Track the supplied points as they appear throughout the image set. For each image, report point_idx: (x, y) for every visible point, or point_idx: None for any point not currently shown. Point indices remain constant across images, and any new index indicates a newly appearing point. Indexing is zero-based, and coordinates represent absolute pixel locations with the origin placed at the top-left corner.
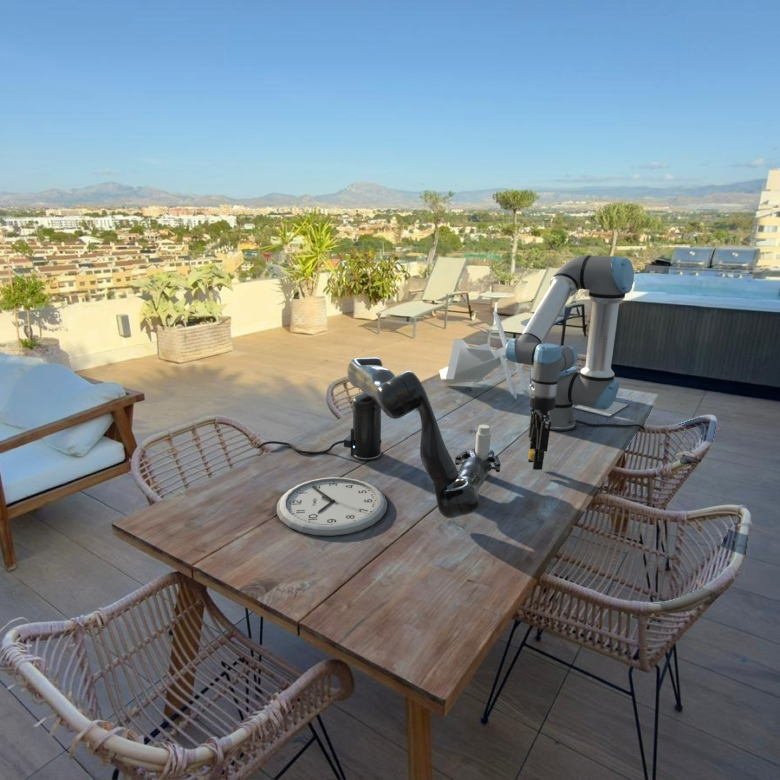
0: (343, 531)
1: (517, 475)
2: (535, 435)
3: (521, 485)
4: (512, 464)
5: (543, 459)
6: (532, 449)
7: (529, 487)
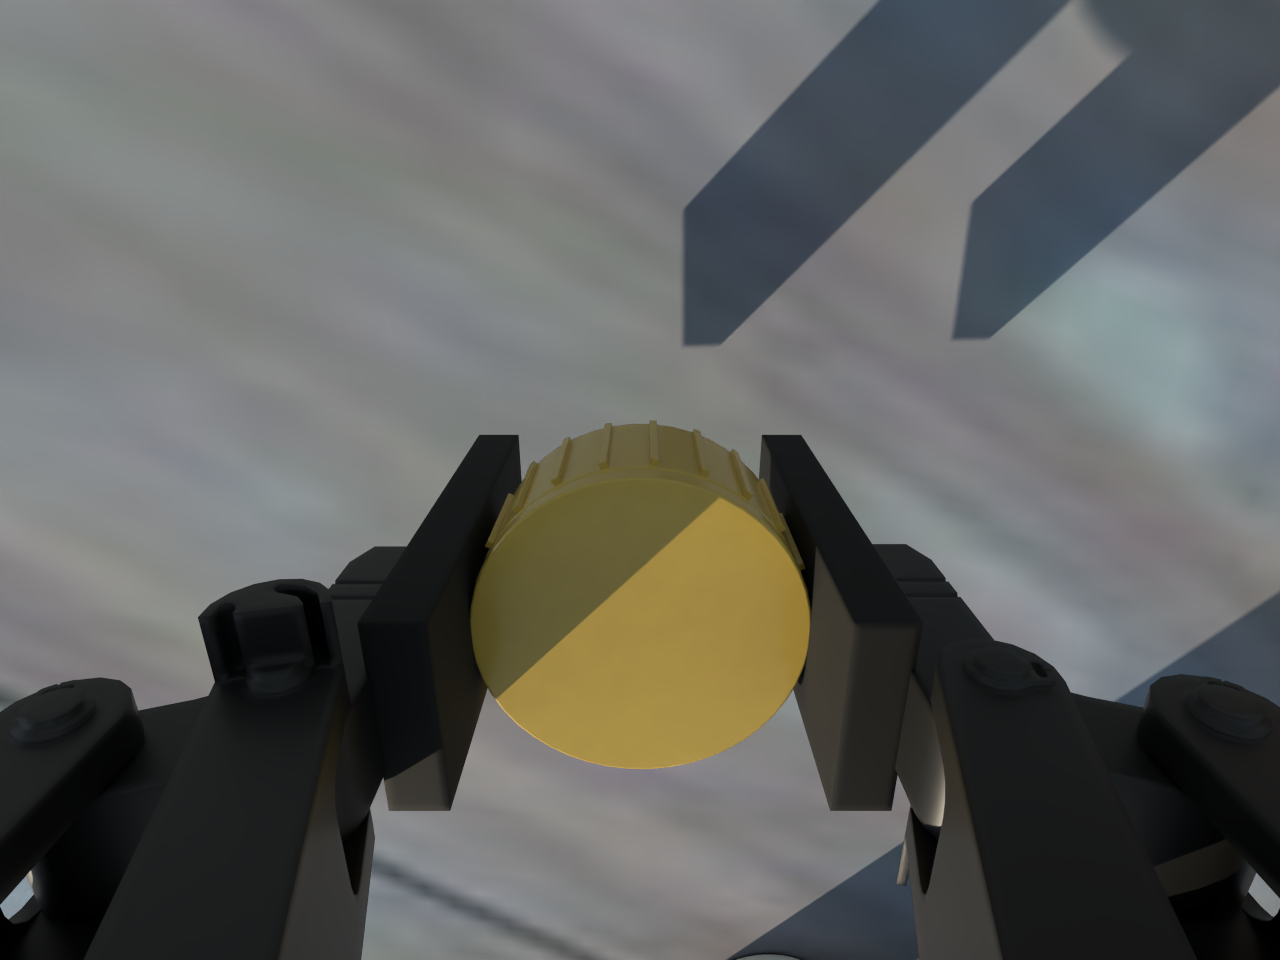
0: None
1: (790, 700)
2: (336, 958)
3: None
4: None
5: (734, 453)
6: (528, 688)
7: (1110, 642)
